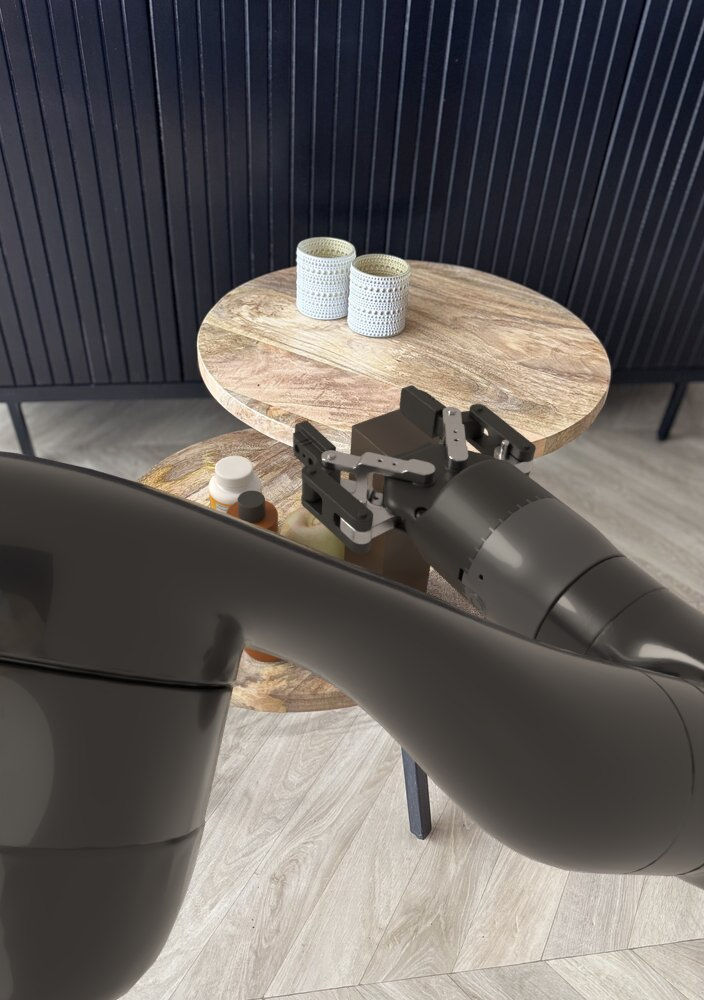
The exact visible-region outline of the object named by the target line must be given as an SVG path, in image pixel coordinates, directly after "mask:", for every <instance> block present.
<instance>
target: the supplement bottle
mask: <svg viewBox="0 0 704 1000" xmlns="http://www.w3.org/2000/svg"><path fill="white" fill-rule="evenodd" d="M254 471H255V470H254V464H253V462H252V461H251V460H250V459H248V458H247V457H245V456H242V455H241V456H240V455H229V456H225V457H223V458H221V459H219V460H218V461H217V462H216V464H215V465H214V475H213V476H212V477H211V478H210V480H209V483H208V496H209V497H208V498H209V507H210V508H213V509H215V510H218V511H221V512H223V513H226V512H227V510H228V509H229V507H230V506H231V505H233V504H234V503H236V502H238V497H239V495H240V494H241V493H243V492H246V491H258V492H260V493H262V494H263V483H262V480H261V478H260V476H259V475H258V474H257V473H255V472H254Z"/></svg>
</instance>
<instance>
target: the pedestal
mask: <svg viewBox="0 0 704 1000" xmlns="http://www.w3.org/2000/svg"><path fill="white" fill-rule="evenodd" d="M350 433H351V434H350V451H349V454H351V455H355V456H362V455H363V454H364V453H366V452H371V453H376V454H380V455H384V456H389V457H392V456H394V455H397V454H400V453H405V452H410V451H413V450H415V449H416V448H418V447H419V446H420V445H423V444H426V443H428V442H431V443H432V444H439V442H438V441H439V436H438V437H435V438H431V437H429V436H428V435H427V434H426V433H424V432H423V431H422V430H421V429H419V428H418V427H417V426H416V425H414V424H413V423H412V422H411V421H409V420H408V419H407V418H406V417H404V416H403V415H402V414H401V412H400V408H397V409H394V410H392V411H389V412H386V413H383V414H381V415H378V416H374V417H372V418H369V419H367V420H363V421H360V422H357V423H355V424H353V425H351V432H350ZM383 477H384V475H381V474H377V473H373V482H372V487H373V489H374V490H375V491H376V492H378V493H382V494H383ZM348 480H352V481H356V476H355V475H354V474H352V473H348ZM344 560H345V561H347V562H350V563H353V564H355V565H358V566H361V567H363V568H366V569H368V570H371V571H374V572H376V573H379V574H381V575H384V576H386V577H388V578H391V579H393V580H396V581H398V582H401V583H403V584H406V585H408V586H411V587H413V588H415V589H418V590H420V591H423V592H425V593H427V591H428V584H429V578H430V572H431V566H430V565H429V564H428V563H427V562H426V561H425V560H424V558H423V557H422V555H421V554H420V552H419V550H418V549H417V547H416V545H415V544H414V542H413V541H412V540H411V539H410V538H409V537H407V536H405V535H403V534H401V533H398V532H395V531H393V530H391V529H390V530H388V531H386V532H384V533H382V534H380V535H378V536H376V537H374V538H372V539H371V547H370V550H369V551H368V552H366V553H363V554H358V553H355V552H353V551H352V550H350V549H349V548H348V547H347V546H346V545H345V552H344Z"/></svg>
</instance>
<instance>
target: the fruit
mask: <svg viewBox="0 0 704 1000" xmlns="http://www.w3.org/2000/svg"><path fill="white" fill-rule="evenodd" d="M279 534H280V535H283V536H285V537H288V538H290V539H292V540H295V541H297V542H300V543H302V544H305V545H307V546H309V547H312V548H314V549H317V550H319V551H322V552H324V553H327V554H329V555H332V556H334V557H337V558H340V559H342V560H344V552H345V544H344V543H343V542H342V541H341V540H340V539H338V538H337V537H336V536H335V535H334V534H333V533H332V532H331V531H330V530H329V529H328V528H326V527H325V526H324V525H323V524H322V523H321V522H320V521H319V520H318V519H317V518H316V517H314V516H313V515H312V514H311V513H310V512H309V511H308V510H307V509H306V508H305V507H304V506H301V507H299V508H297V509H295V510H294V511H292V512H291V513H290V514H289V515H288V516H287V517H286V519H285V520H284V522H283V524H282V526H281V528H280V531H279Z"/></svg>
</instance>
